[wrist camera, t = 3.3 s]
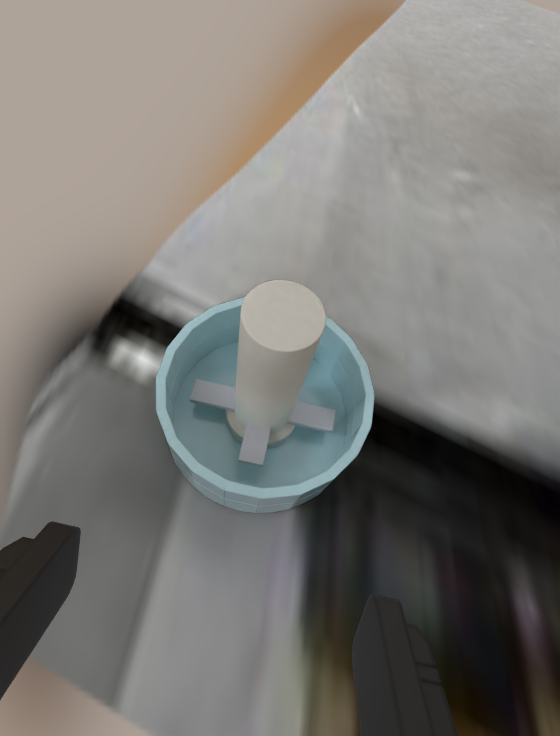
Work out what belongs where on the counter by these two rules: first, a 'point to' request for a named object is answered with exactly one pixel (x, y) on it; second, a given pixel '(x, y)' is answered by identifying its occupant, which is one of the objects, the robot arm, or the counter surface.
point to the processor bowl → (221, 449)
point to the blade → (271, 369)
